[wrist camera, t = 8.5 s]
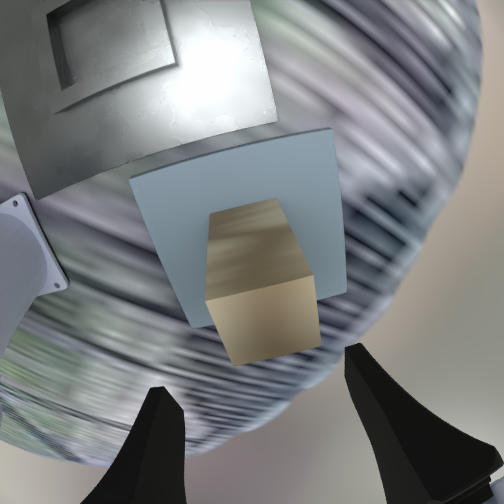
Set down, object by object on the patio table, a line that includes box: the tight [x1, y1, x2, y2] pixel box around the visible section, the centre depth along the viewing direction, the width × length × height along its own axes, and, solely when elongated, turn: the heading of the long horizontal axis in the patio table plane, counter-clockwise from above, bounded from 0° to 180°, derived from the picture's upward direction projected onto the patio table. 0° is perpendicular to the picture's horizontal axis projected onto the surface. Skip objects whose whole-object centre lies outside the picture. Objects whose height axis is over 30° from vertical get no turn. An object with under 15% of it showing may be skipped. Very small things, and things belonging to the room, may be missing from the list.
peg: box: [205, 197, 321, 366], centre depth 15 cm, size 4×4×8 cm
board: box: [129, 128, 347, 329], centre depth 19 cm, size 12×12×1 cm
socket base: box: [0, 0, 278, 201], centre depth 11 cm, size 16×16×2 cm
